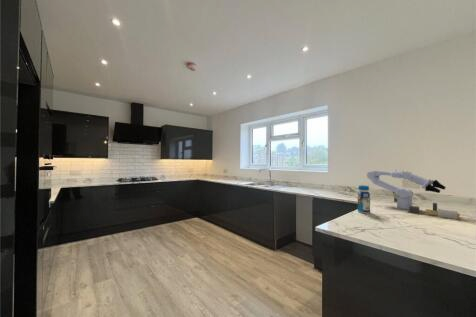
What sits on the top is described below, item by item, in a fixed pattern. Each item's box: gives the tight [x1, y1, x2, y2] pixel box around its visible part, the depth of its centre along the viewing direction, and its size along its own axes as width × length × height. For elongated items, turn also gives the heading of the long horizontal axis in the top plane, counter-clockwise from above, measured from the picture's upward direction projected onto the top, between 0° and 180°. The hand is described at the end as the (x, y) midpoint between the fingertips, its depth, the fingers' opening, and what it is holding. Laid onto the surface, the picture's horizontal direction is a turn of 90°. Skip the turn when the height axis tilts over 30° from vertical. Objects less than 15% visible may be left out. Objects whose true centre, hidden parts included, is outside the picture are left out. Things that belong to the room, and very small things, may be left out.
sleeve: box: [437, 208, 458, 219], centre depth 136 cm, size 9×4×4 cm, turn 42°
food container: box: [392, 192, 401, 203], centre depth 193 cm, size 12×6×10 cm, turn 59°
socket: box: [408, 204, 420, 214], centre depth 149 cm, size 5×7×4 cm
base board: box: [406, 210, 462, 222], centre depth 142 cm, size 26×12×1 cm, turn 42°
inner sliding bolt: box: [425, 202, 461, 218], centre depth 138 cm, size 16×3×8 cm, turn 42°
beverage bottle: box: [357, 185, 371, 214], centre depth 154 cm, size 8×8×20 cm
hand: (442, 190), depth 144 cm, fingers open, 7 cm apart
